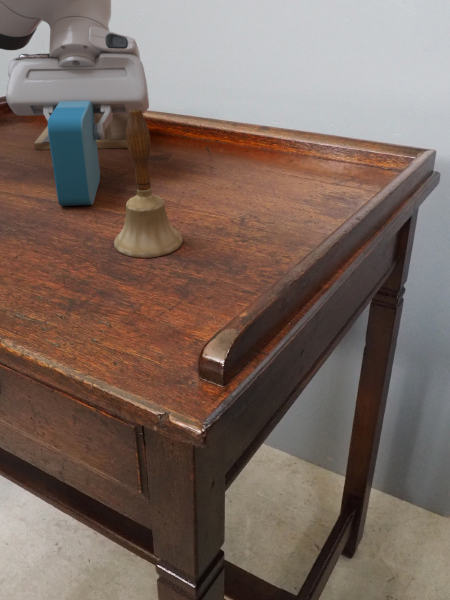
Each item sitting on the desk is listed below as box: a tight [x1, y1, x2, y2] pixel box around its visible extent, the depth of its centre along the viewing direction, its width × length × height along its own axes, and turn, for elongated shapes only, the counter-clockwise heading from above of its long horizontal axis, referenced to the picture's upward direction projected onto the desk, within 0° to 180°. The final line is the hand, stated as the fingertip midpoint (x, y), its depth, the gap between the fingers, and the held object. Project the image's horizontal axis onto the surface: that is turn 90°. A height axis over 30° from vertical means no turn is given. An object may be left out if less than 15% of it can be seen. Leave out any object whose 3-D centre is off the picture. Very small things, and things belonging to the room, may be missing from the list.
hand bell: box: [113, 108, 184, 259], centre depth 71 cm, size 8×8×16 cm
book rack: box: [33, 114, 129, 151], centre depth 110 cm, size 18×13×11 cm
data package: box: [47, 101, 101, 207], centre depth 86 cm, size 12×4×12 cm, turn 4°
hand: (77, 138), depth 88 cm, fingers closed on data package, 4 cm apart
